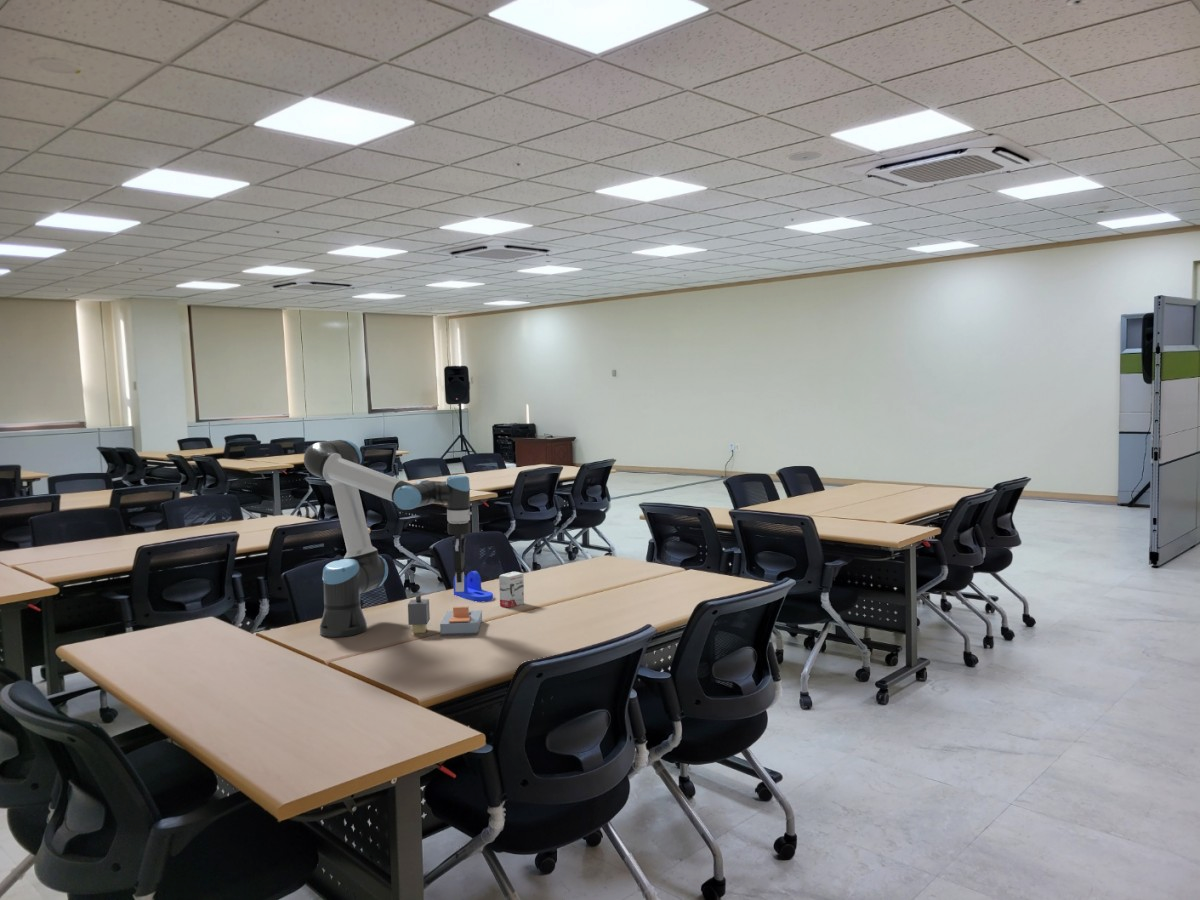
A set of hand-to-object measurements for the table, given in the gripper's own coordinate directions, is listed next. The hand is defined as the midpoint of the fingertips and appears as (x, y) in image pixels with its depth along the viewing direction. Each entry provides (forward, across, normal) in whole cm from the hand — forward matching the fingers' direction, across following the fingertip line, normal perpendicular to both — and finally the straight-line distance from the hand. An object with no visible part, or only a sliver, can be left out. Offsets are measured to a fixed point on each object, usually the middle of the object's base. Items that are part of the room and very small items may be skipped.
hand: (459, 591), depth 280 cm
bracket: (+13, +43, 0) cm, 45 cm away
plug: (+13, -2, +13) cm, 19 cm away
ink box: (+13, +29, -16) cm, 35 cm away
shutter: (+8, -5, -1) cm, 10 cm away
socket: (+13, -1, -1) cm, 13 cm away
